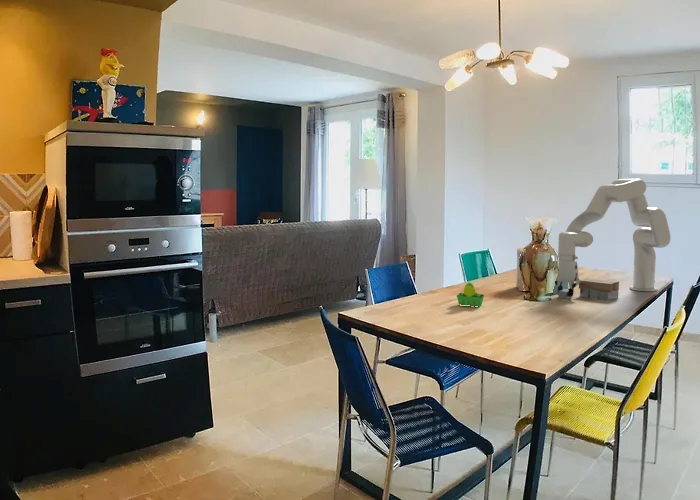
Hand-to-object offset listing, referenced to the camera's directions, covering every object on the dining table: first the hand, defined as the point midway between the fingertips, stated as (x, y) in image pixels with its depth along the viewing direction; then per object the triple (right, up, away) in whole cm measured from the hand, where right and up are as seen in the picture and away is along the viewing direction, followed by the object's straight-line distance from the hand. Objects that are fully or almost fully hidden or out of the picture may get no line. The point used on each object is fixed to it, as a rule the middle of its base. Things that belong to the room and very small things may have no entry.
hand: (565, 295), depth 261 cm
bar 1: (0, -1, 0) cm, 1 cm away
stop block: (+2, +1, +14) cm, 14 cm away
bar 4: (+19, -1, -5) cm, 19 cm away
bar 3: (+15, -1, -1) cm, 15 cm away
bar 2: (+12, -1, +3) cm, 12 cm away
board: (+15, +3, -1) cm, 16 cm away
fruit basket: (-49, -4, -16) cm, 52 cm away
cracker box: (-13, +1, +22) cm, 25 cm away
